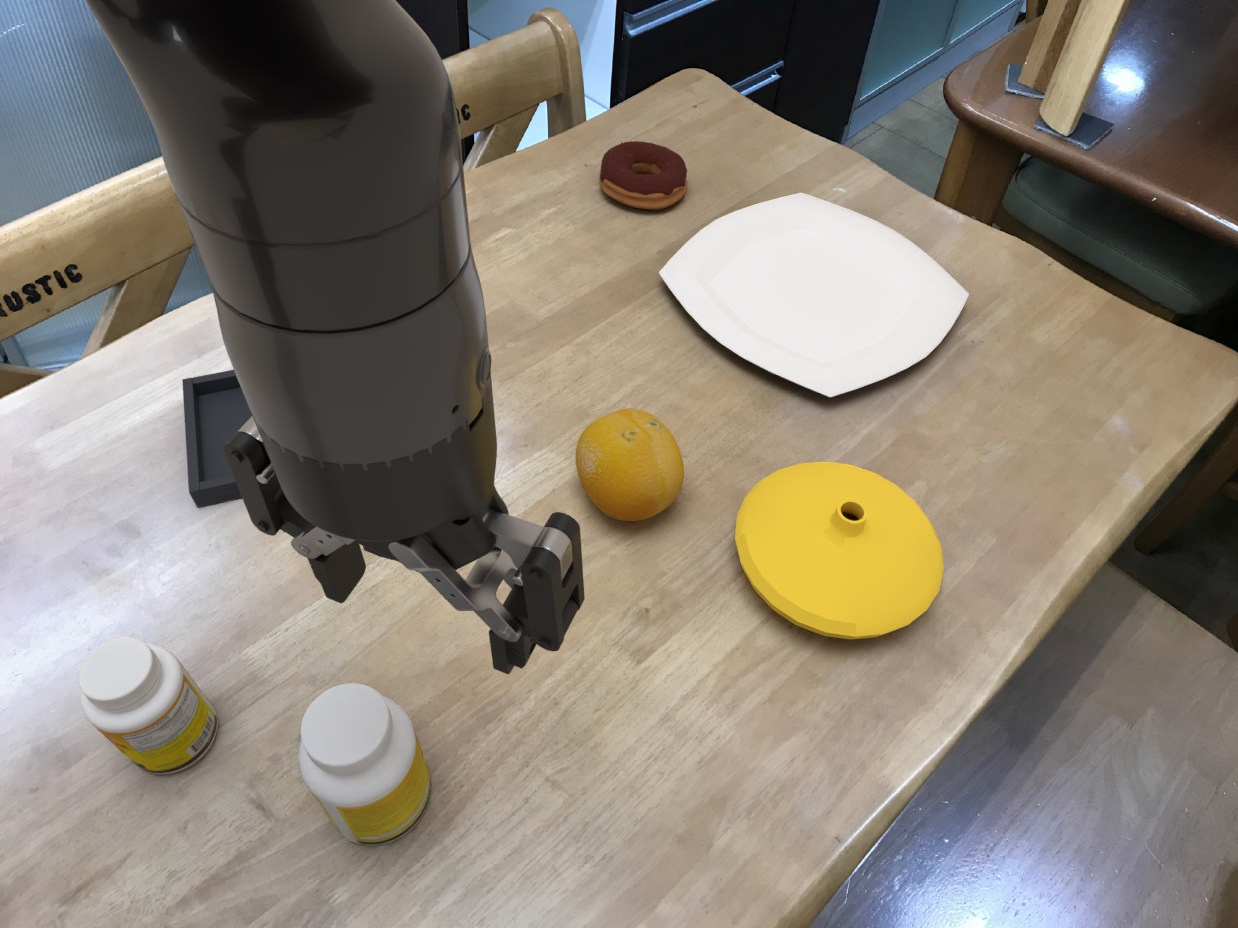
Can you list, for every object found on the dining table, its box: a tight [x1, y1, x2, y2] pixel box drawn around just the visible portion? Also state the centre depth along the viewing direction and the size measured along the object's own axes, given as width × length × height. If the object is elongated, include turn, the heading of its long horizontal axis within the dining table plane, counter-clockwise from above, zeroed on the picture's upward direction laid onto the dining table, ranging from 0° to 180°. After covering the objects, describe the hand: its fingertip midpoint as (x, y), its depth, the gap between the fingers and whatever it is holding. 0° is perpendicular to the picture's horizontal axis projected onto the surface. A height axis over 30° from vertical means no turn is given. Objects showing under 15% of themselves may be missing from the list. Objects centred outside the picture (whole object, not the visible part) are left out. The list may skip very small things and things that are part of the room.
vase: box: [734, 461, 945, 640], centre depth 66 cm, size 16×16×7 cm
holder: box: [181, 369, 252, 508], centre depth 74 cm, size 16×13×2 cm
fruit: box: [575, 408, 685, 522], centre depth 69 cm, size 9×8×8 cm
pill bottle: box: [298, 682, 432, 846], centre depth 52 cm, size 6×6×12 cm
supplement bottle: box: [77, 636, 219, 775], centre depth 54 cm, size 6×6×10 cm
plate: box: [658, 192, 970, 399], centre depth 88 cm, size 27×27×2 cm
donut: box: [598, 140, 688, 211], centre depth 98 cm, size 10×10×4 cm
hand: (428, 619), depth 40 cm, fingers open, 8 cm apart
